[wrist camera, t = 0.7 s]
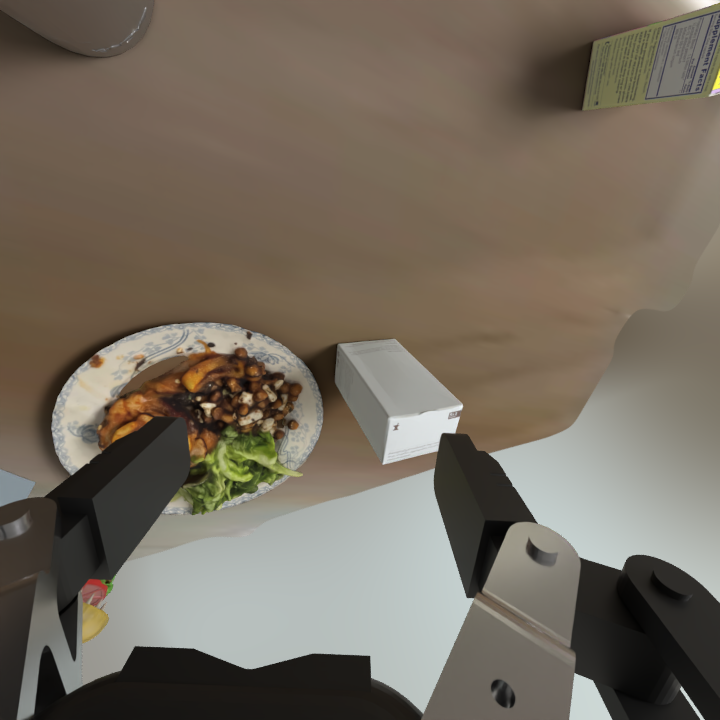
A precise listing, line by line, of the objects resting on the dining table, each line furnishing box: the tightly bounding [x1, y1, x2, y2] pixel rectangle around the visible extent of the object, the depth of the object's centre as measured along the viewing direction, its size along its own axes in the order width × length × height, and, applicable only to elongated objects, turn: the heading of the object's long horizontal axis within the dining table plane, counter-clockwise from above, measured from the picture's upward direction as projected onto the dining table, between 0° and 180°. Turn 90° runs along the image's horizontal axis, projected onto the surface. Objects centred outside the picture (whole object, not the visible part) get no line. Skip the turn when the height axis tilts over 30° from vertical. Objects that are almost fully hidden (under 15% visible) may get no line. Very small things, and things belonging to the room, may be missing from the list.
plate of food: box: [51, 323, 323, 515], centre depth 38 cm, size 28×28×6 cm
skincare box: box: [335, 339, 463, 464], centre depth 37 cm, size 8×6×15 cm
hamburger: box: [81, 575, 116, 643], centre depth 39 cm, size 8×7×12 cm
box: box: [582, 3, 720, 111], centre depth 30 cm, size 10×6×12 cm, turn 101°
